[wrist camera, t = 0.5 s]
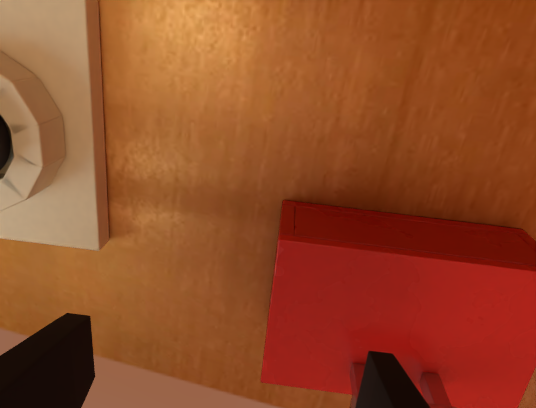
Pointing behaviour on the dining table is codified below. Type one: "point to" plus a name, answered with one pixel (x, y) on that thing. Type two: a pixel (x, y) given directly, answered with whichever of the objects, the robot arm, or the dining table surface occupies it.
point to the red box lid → (401, 321)
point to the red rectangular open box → (406, 233)
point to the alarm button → (4, 144)
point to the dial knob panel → (53, 124)
